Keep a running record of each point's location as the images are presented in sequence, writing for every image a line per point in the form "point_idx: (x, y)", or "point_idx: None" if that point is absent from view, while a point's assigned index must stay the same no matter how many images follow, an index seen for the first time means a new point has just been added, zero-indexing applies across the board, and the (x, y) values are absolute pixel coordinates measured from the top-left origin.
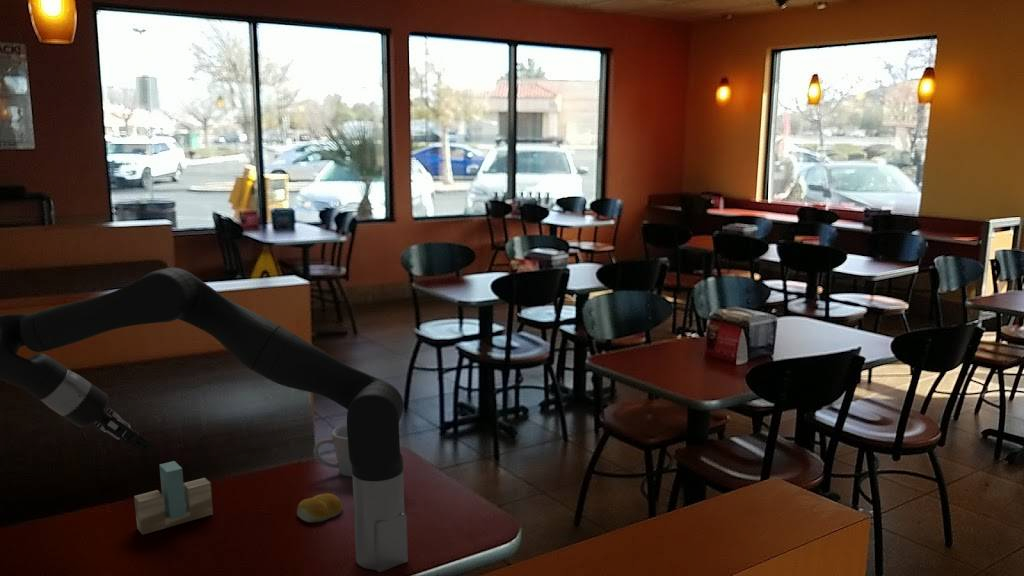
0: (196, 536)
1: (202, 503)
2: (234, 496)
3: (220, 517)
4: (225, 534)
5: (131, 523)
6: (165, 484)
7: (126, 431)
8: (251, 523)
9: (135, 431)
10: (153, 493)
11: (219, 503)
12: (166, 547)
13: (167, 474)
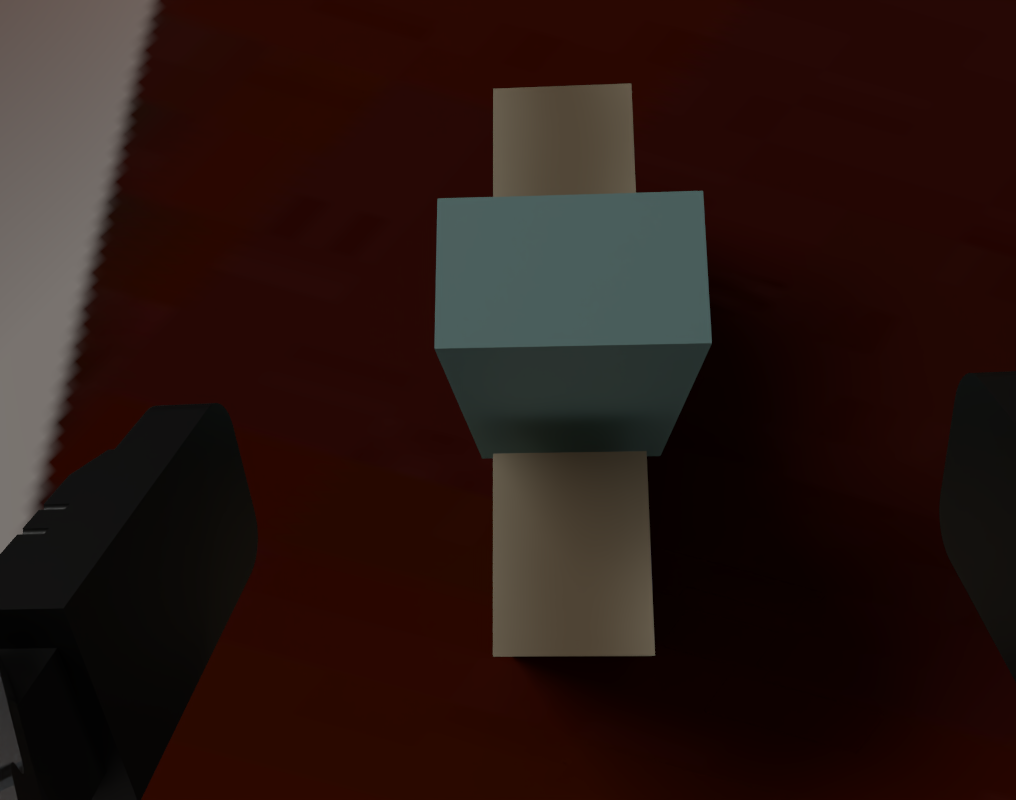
0: (871, 378)
1: None
2: (445, 36)
3: (689, 186)
4: (949, 231)
5: (402, 667)
6: (610, 392)
7: (141, 632)
8: (888, 71)
9: (175, 458)
10: (548, 503)
11: (484, 133)
12: (919, 576)
13: (707, 346)
